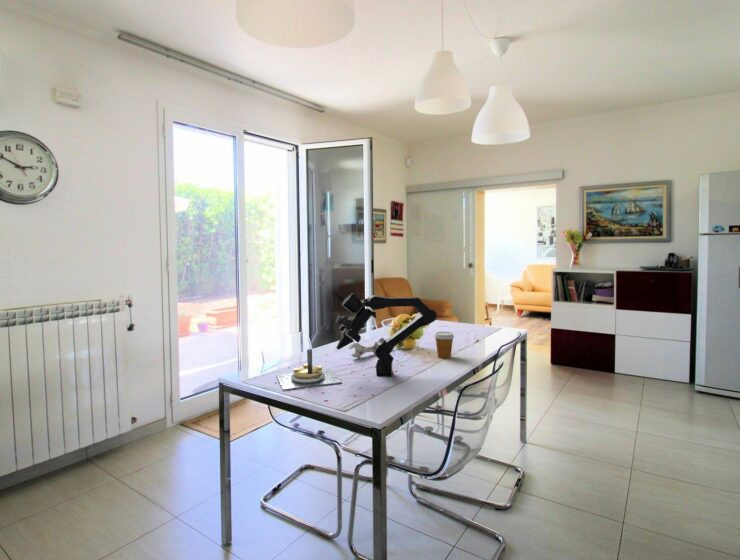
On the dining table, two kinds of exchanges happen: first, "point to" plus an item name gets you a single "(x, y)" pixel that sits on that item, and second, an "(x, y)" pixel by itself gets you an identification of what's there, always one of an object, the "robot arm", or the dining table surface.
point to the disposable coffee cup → (444, 344)
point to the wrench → (360, 349)
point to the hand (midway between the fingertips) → (337, 349)
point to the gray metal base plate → (307, 380)
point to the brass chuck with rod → (308, 369)
